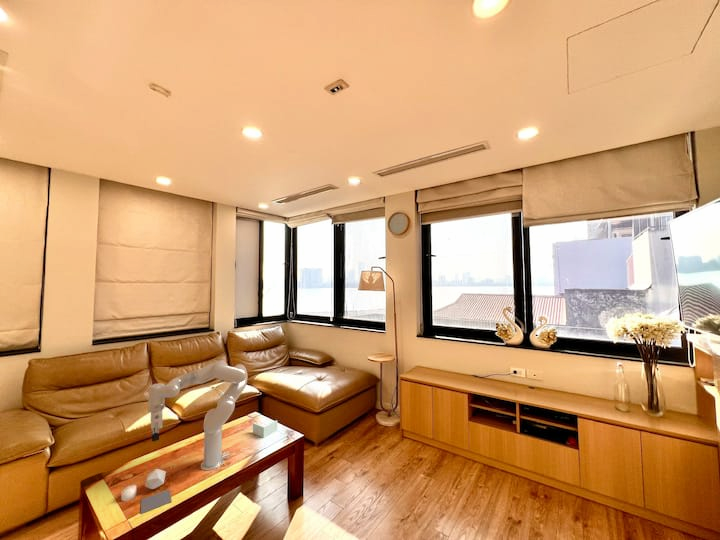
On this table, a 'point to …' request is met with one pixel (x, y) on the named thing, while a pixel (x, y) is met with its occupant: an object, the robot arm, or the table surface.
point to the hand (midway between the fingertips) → (155, 440)
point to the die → (155, 479)
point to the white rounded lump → (128, 493)
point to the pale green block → (264, 429)
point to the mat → (155, 501)
